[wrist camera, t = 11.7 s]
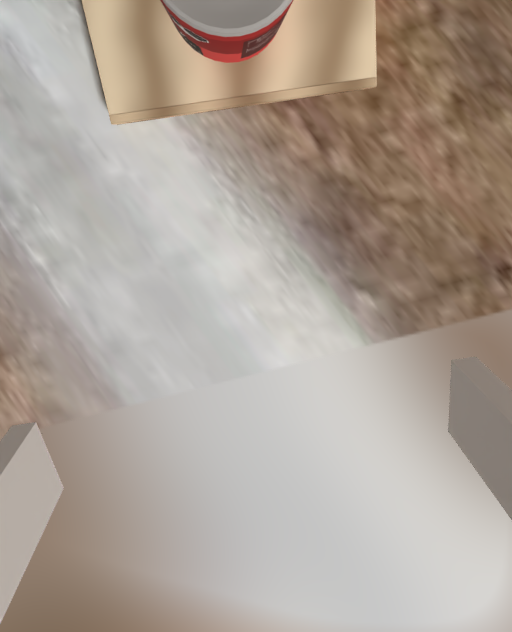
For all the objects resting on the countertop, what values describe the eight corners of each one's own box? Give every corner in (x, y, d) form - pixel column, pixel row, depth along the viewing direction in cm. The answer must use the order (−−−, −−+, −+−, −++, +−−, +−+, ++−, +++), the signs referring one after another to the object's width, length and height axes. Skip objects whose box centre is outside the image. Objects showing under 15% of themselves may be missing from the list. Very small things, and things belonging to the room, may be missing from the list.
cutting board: (117, 124, 34) (111, 124, 33) (68, -86, 29) (57, -101, 27) (368, 88, 34) (376, 86, 32) (363, -128, 29) (372, -146, 27)
